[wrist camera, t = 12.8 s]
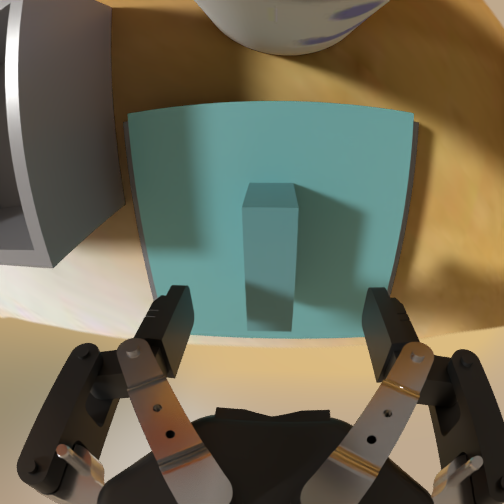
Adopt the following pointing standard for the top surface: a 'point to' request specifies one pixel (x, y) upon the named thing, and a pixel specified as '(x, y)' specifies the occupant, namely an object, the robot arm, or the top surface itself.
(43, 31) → the storage box
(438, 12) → the top surface
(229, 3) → the container
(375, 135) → the lid
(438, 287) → the top surface
